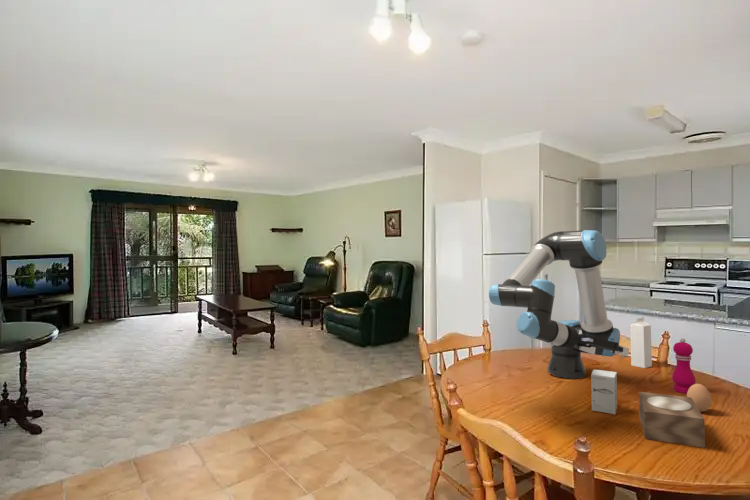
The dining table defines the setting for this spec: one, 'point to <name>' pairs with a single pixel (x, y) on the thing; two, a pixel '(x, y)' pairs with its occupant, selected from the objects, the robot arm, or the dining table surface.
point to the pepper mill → (683, 367)
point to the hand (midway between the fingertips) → (610, 351)
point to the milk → (641, 344)
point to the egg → (700, 397)
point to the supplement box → (604, 391)
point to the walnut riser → (671, 419)
